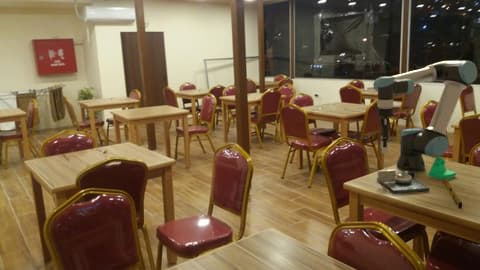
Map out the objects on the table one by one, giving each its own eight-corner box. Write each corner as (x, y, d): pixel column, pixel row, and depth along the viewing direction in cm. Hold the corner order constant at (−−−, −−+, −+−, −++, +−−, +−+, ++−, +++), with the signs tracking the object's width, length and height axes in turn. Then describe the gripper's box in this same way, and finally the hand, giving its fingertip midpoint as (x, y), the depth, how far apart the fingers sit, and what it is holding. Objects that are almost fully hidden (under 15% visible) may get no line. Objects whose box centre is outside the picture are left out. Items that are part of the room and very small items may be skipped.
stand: (411, 178, 210) (411, 169, 209) (431, 191, 190) (432, 181, 189) (376, 181, 209) (376, 172, 208) (393, 194, 189) (393, 184, 188)
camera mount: (441, 181, 204) (442, 162, 202) (428, 177, 211) (429, 159, 209) (456, 177, 209) (457, 158, 207) (443, 173, 216) (444, 155, 214)
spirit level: (442, 183, 201) (443, 178, 201) (445, 183, 201) (445, 178, 200) (458, 208, 170) (458, 202, 170) (461, 209, 170) (462, 202, 169)
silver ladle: (406, 177, 204) (407, 166, 203) (414, 182, 196) (415, 171, 195) (375, 180, 203) (375, 168, 202) (381, 185, 196) (381, 173, 194)
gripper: (376, 104, 209) (375, 145, 214) (378, 110, 189) (377, 155, 194) (391, 104, 207) (390, 145, 212) (394, 110, 187) (393, 156, 192)
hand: (383, 150), depth 203 cm, fingers open, 9 cm apart
